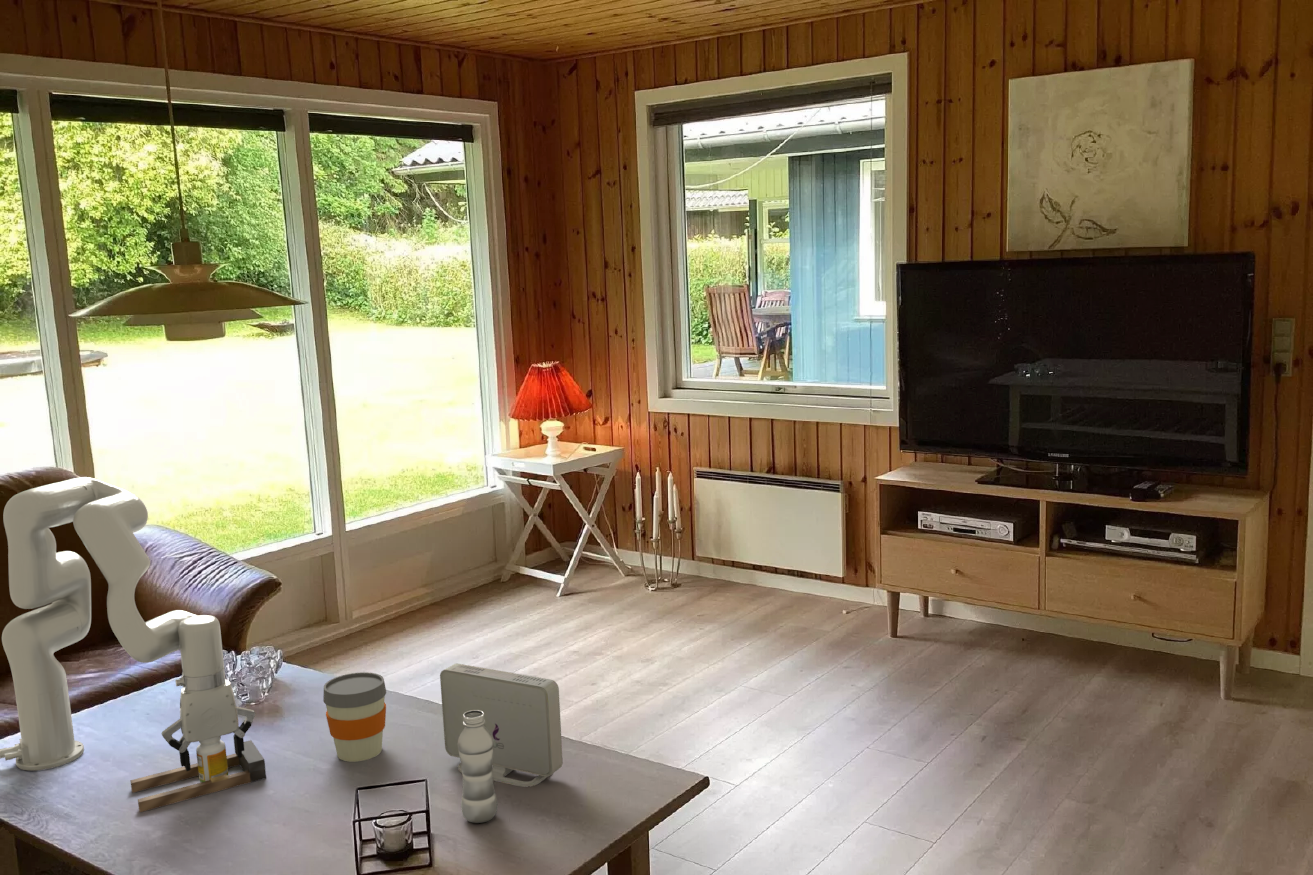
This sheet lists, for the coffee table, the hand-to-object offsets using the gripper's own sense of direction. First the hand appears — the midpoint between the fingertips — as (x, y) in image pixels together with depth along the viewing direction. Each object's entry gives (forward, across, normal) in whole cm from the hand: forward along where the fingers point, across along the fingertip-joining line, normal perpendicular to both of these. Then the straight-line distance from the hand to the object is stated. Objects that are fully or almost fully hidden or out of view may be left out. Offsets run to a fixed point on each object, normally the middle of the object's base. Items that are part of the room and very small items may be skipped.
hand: (213, 761), depth 221 cm
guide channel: (+4, -3, 0) cm, 5 cm away
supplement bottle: (+4, 0, 0) cm, 4 cm away
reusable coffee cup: (+4, +28, -5) cm, 28 cm away
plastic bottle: (+4, +36, -46) cm, 59 cm away
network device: (+4, +48, -31) cm, 57 cm away
